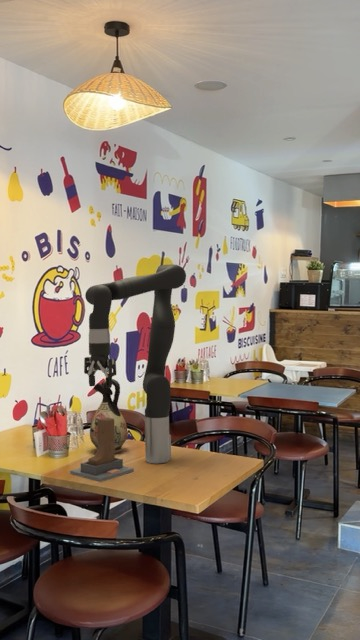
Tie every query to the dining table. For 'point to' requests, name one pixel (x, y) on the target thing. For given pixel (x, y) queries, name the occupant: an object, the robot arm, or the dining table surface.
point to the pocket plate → (102, 470)
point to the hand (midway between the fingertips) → (100, 387)
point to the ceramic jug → (109, 415)
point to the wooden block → (104, 442)
